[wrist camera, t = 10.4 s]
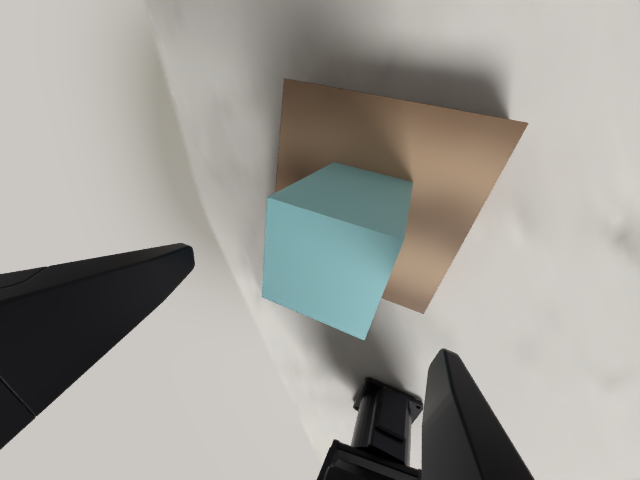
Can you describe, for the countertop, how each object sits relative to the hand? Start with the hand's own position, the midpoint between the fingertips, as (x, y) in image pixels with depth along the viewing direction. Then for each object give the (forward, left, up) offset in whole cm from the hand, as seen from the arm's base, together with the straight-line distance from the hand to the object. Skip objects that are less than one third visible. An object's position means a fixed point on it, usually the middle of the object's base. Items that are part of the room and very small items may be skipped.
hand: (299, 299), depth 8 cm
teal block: (0, 0, -10) cm, 10 cm away
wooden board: (0, 0, -13) cm, 13 cm away
